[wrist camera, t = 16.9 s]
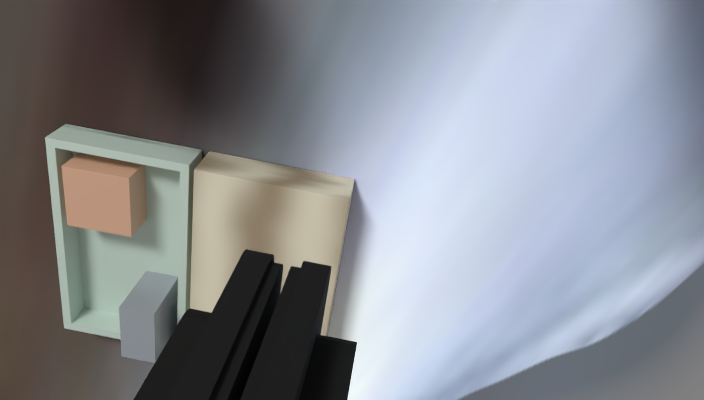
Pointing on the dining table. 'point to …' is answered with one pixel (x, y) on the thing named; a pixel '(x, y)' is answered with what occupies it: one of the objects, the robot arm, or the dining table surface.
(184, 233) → the box
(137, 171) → the terracotta tile
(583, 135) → the dining table surface
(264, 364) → the robot arm
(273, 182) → the birch platform
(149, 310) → the slate tile
